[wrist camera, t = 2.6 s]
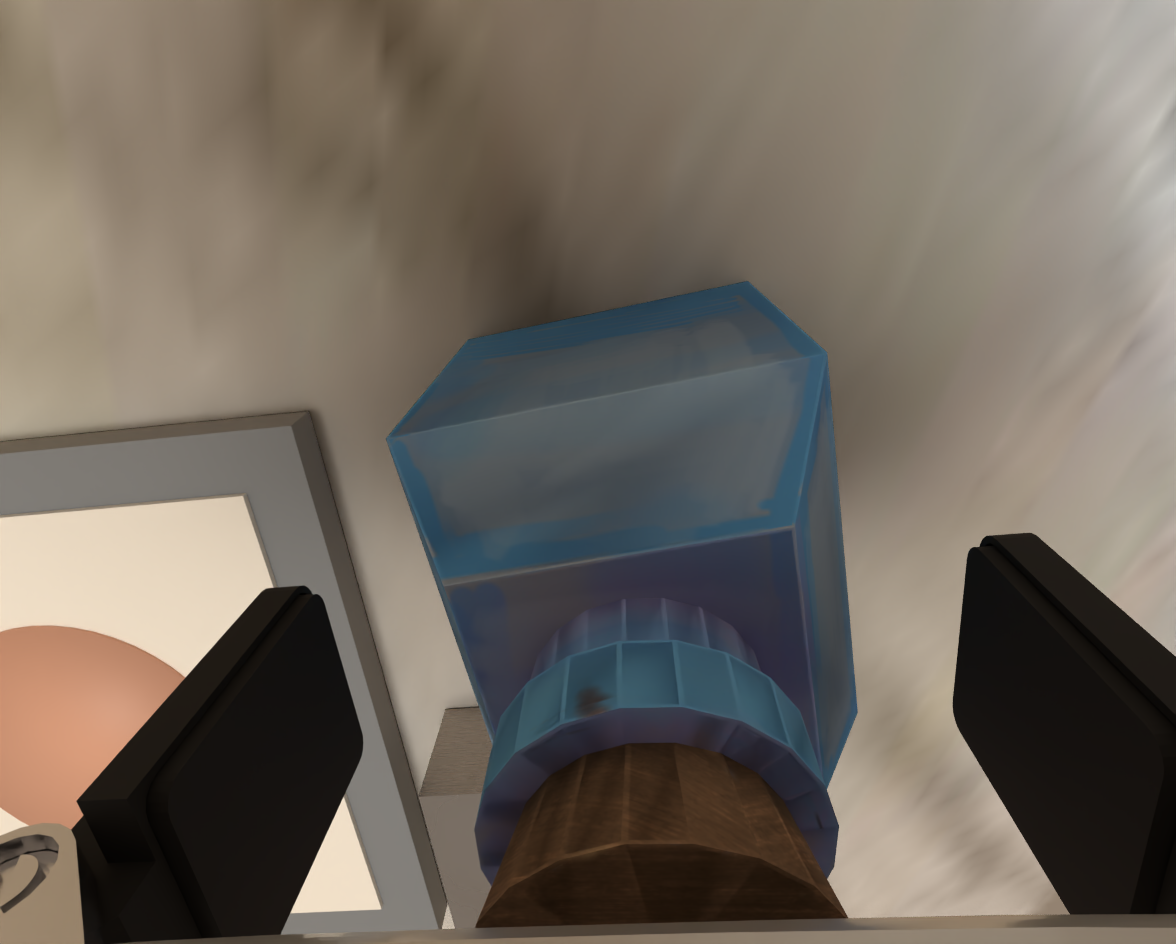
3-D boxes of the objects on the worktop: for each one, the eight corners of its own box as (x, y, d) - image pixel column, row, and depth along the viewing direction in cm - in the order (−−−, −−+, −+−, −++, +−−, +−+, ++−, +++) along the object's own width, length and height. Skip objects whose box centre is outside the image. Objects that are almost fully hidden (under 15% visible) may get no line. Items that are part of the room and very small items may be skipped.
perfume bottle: (534, 574, 18) (412, 1203, 7) (468, 339, 16) (133, 742, 5) (779, 533, 17) (1054, 1162, 6) (747, 281, 15) (1099, 598, 4)
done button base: (445, 709, 20) (418, 796, 17) (770, 688, 19) (796, 775, 17) (497, 922, 24) (481, 1023, 21) (773, 911, 23) (795, 1013, 20)
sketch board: (-236, 465, 18) (-296, 486, 16) (309, 411, 17) (285, 429, 15) (45, 921, 24) (17, 959, 23) (447, 904, 23) (438, 942, 22)
